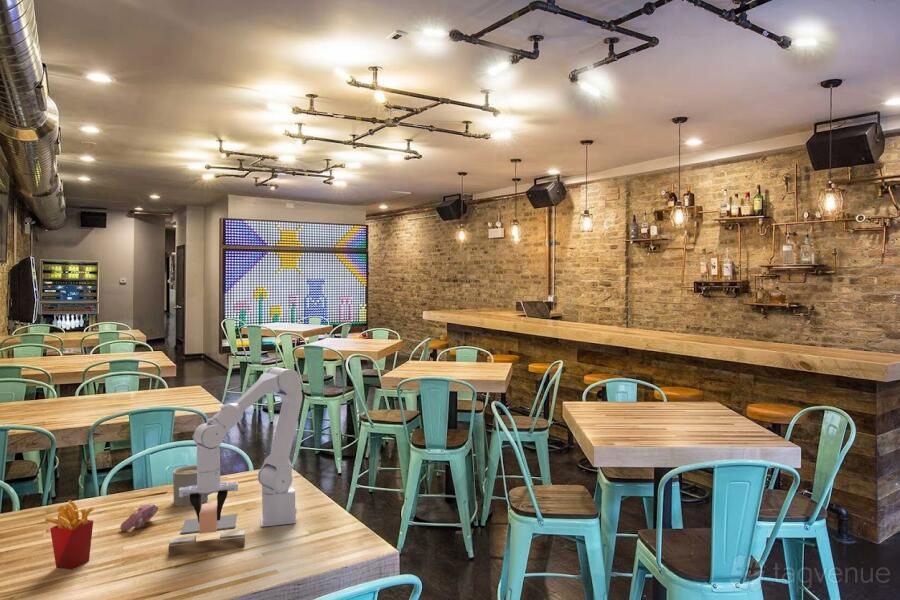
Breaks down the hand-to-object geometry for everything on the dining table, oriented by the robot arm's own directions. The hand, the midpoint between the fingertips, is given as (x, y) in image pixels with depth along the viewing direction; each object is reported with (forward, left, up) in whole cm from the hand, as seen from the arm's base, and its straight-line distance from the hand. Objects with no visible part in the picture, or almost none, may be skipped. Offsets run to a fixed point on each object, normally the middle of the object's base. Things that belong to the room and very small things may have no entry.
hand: (209, 520), depth 161 cm
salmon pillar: (0, +1, -2) cm, 2 cm away
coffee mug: (+7, -34, -6) cm, 35 cm away
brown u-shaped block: (0, +4, -6) cm, 7 cm away
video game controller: (+20, -17, -6) cm, 27 cm away
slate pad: (+1, -12, -6) cm, 13 cm away
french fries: (+32, +5, -6) cm, 33 cm away
